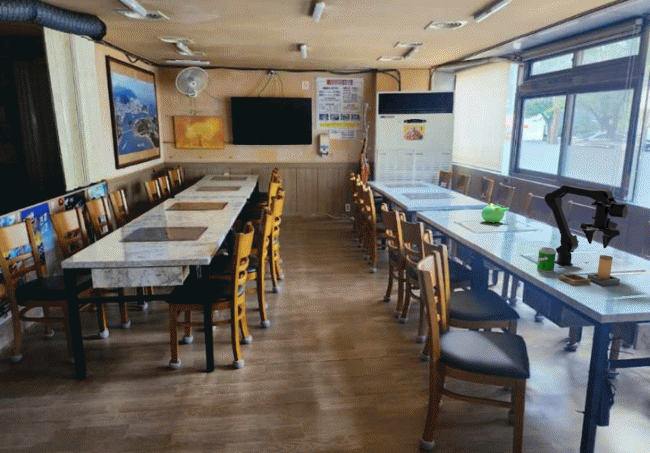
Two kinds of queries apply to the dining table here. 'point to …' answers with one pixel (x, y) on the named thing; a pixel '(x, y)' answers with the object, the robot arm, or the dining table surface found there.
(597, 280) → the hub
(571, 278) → the stand
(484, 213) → the toy bird
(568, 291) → the dining table surface
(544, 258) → the soda can
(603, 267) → the wooden dowel rod
